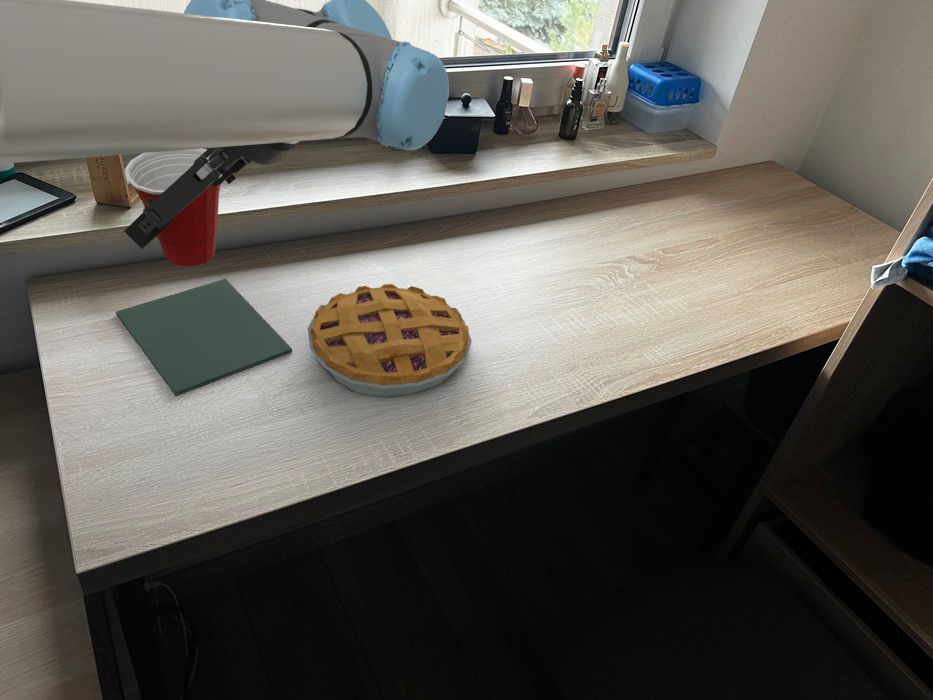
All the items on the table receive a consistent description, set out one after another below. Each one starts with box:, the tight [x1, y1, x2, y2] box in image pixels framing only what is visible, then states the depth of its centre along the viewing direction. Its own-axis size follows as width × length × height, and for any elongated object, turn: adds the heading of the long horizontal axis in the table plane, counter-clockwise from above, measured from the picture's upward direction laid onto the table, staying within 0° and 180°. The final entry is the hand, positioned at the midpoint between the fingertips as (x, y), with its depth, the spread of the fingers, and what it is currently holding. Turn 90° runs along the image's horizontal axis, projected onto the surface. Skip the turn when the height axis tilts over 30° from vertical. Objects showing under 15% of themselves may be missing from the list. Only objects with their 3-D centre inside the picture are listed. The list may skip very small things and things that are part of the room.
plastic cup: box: [124, 148, 222, 267], centre depth 86 cm, size 11×11×12 cm
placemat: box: [115, 278, 293, 397], centre depth 98 cm, size 16×20×1 cm
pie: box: [307, 283, 473, 398], centre depth 98 cm, size 22×22×5 cm
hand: (161, 218), depth 87 cm, fingers closed on plastic cup, 10 cm apart
